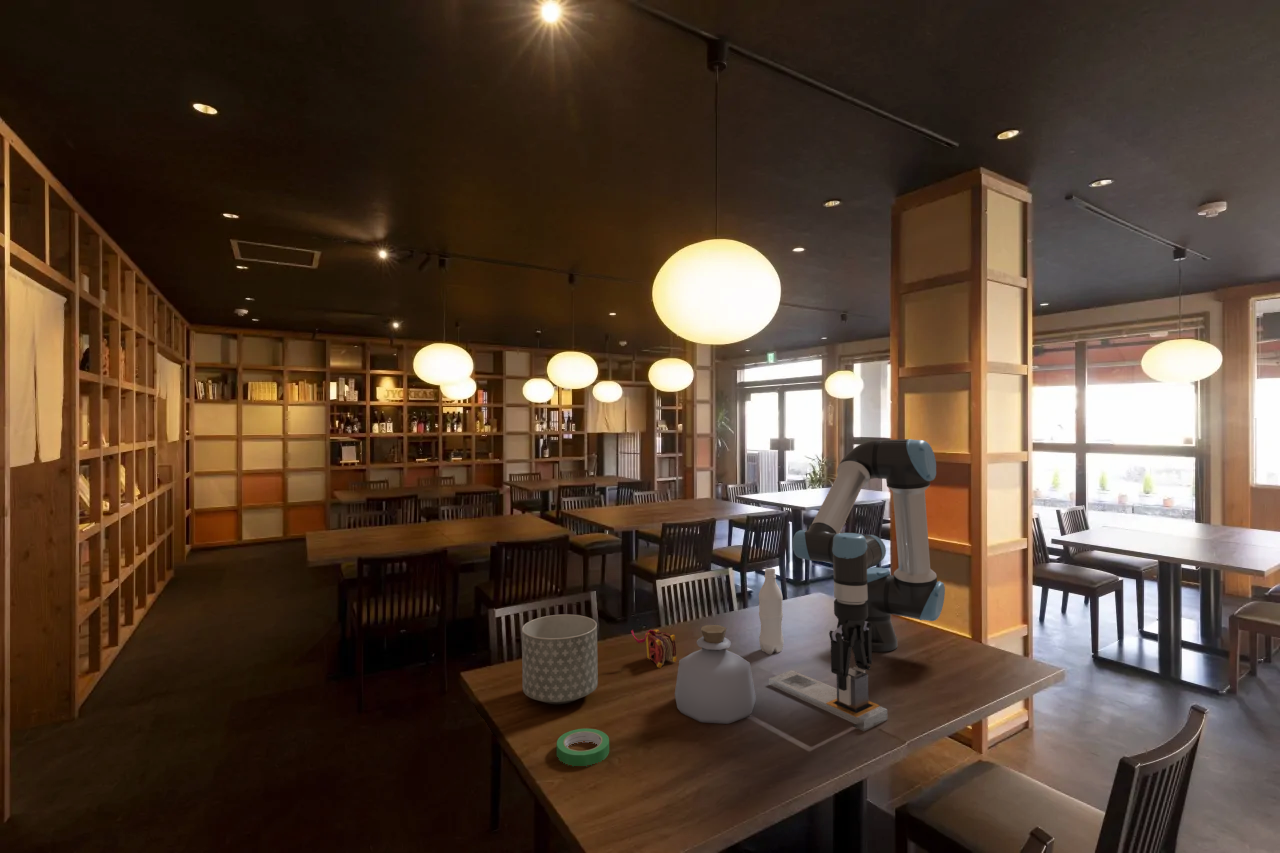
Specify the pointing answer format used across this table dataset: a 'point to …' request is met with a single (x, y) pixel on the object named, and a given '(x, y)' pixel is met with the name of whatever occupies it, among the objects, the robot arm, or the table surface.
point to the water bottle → (770, 614)
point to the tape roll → (585, 756)
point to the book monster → (659, 646)
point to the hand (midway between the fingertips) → (852, 699)
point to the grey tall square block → (856, 691)
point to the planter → (559, 658)
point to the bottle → (714, 681)
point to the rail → (827, 699)
